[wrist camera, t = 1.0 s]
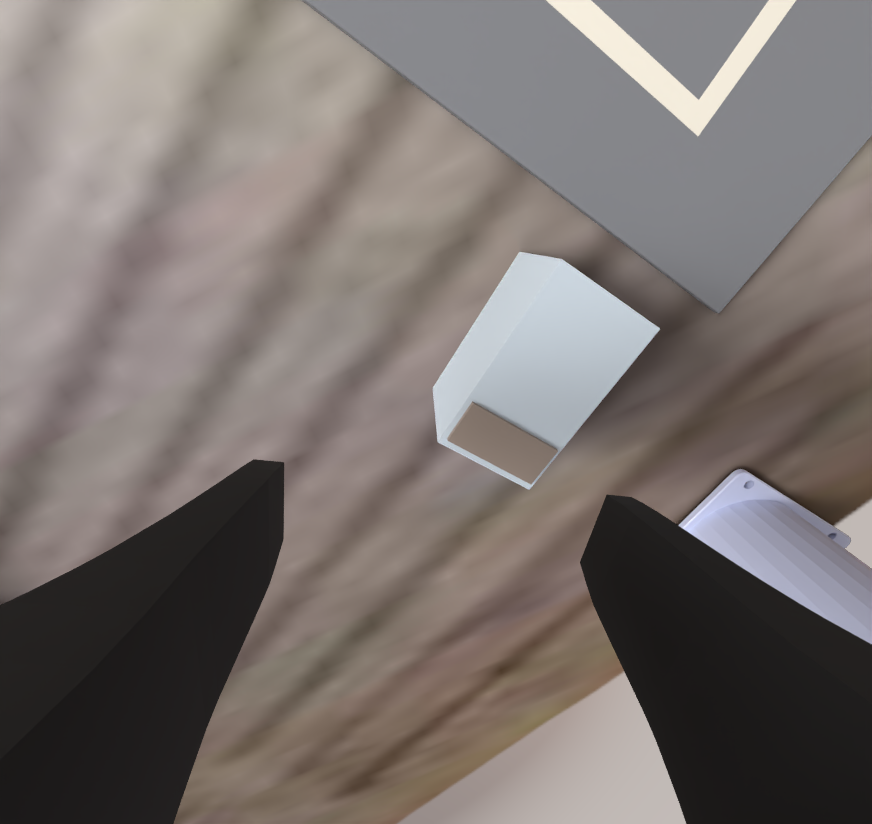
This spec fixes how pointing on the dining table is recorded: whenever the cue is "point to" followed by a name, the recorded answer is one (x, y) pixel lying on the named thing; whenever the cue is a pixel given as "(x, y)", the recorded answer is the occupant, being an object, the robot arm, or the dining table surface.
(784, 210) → the mat
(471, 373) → the card box
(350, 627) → the dining table surface
